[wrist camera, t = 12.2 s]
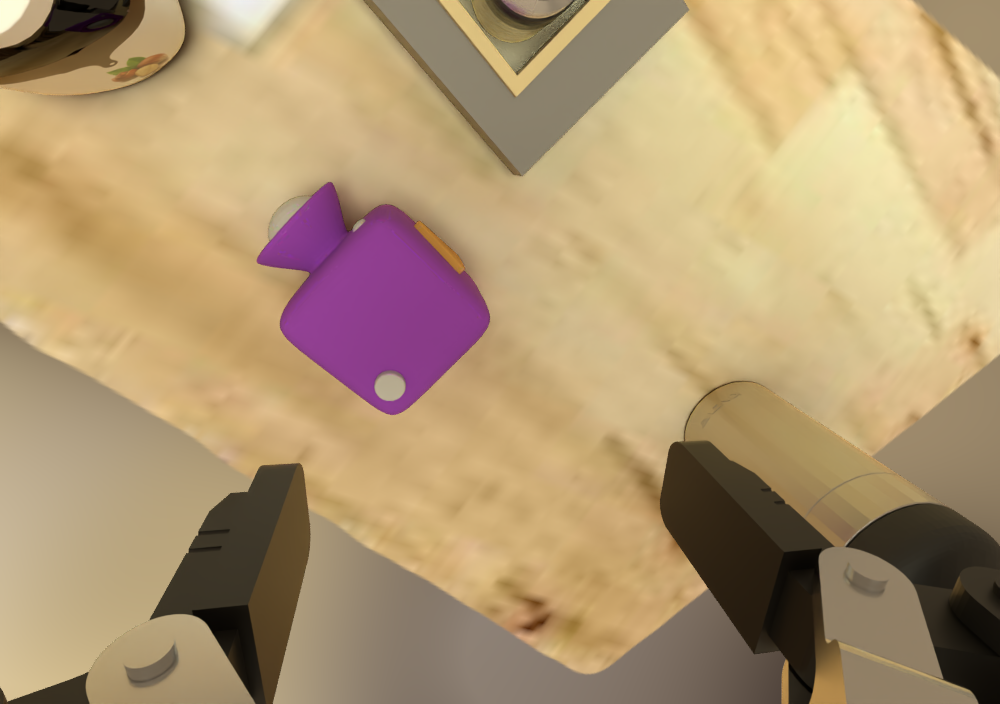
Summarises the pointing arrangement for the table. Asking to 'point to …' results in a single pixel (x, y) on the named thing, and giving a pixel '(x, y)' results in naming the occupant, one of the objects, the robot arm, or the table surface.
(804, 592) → the robot arm
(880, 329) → the table surface
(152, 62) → the spread jar
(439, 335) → the toy camera
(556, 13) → the lens
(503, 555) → the table surface
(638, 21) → the mount plate
